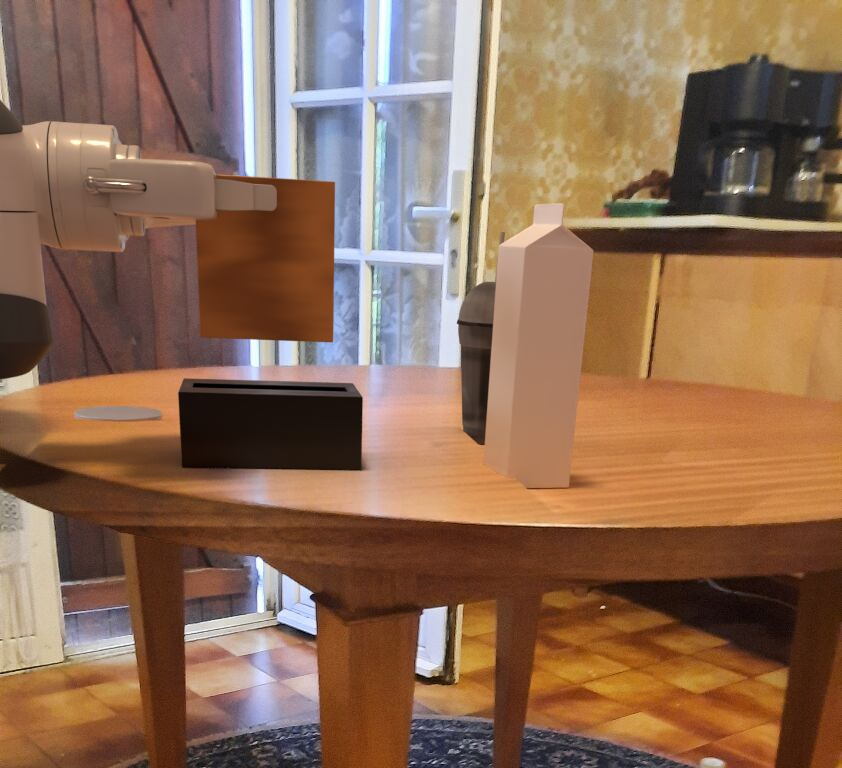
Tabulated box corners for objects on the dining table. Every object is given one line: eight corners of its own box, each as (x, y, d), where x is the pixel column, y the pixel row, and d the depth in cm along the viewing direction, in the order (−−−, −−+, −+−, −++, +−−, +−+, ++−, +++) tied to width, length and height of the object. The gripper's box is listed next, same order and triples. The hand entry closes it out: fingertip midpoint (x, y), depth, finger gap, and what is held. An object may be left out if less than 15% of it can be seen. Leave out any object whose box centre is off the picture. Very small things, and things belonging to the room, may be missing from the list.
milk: (505, 489, 92) (527, 201, 82) (481, 475, 97) (499, 202, 87) (570, 488, 93) (599, 205, 84) (543, 473, 98) (567, 205, 89)
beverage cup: (440, 442, 111) (451, 229, 103) (463, 432, 118) (476, 230, 109) (506, 449, 109) (523, 232, 100) (527, 439, 115) (544, 234, 107)
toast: (200, 337, 88) (193, 173, 83) (200, 336, 90) (194, 174, 84) (333, 342, 90) (335, 181, 85) (331, 341, 91) (333, 182, 86)
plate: (78, 431, 107) (77, 419, 107) (71, 417, 115) (70, 406, 114) (169, 430, 110) (168, 418, 110) (156, 416, 118) (155, 405, 117)
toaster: (182, 479, 89) (177, 391, 86) (187, 458, 97) (183, 378, 94) (361, 481, 92) (362, 396, 88) (351, 461, 100) (352, 383, 96)
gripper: (74, 130, 73) (279, 144, 75) (109, 152, 91) (273, 162, 93) (82, 233, 75) (280, 243, 77) (114, 234, 94) (273, 242, 96)
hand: (276, 199), depth 85 cm, fingers closed on toast, 1 cm apart
